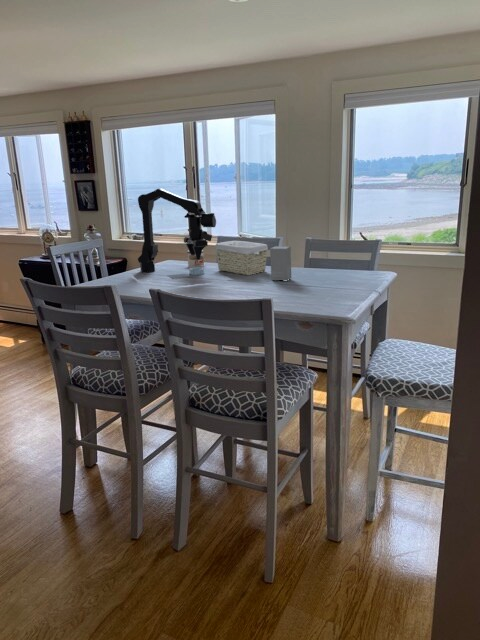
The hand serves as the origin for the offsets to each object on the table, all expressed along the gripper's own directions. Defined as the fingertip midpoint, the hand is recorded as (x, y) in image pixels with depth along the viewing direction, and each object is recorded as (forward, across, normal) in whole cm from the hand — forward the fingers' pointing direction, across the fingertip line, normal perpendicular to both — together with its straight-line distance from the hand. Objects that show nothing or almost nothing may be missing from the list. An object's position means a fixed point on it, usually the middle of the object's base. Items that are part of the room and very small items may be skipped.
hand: (195, 258), depth 235 cm
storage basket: (+9, -2, -24) cm, 26 cm away
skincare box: (+8, -31, -31) cm, 45 cm away
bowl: (+9, 0, 0) cm, 9 cm away
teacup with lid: (+9, +23, -9) cm, 26 cm away
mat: (+8, -3, +10) cm, 13 cm away
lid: (0, 0, 0) cm, 0 cm away
